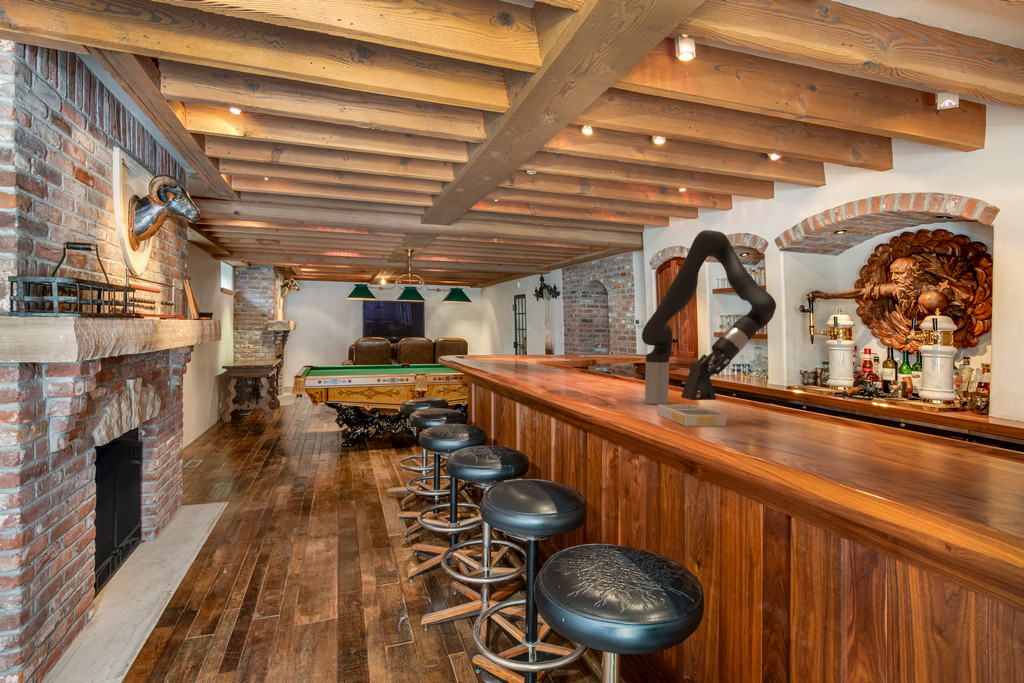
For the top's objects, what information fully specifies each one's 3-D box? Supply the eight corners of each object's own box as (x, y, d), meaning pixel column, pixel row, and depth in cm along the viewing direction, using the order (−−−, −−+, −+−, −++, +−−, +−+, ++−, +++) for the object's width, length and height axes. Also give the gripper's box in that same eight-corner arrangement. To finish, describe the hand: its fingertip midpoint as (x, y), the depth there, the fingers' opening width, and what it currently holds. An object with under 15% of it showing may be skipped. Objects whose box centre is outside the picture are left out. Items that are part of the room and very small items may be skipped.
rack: (656, 414, 174) (656, 404, 174) (692, 414, 176) (692, 404, 176) (685, 426, 153) (685, 415, 153) (726, 426, 155) (726, 415, 155)
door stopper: (705, 397, 163) (706, 361, 163) (716, 399, 157) (716, 362, 157) (680, 397, 161) (681, 361, 161) (690, 400, 156) (691, 362, 155)
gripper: (710, 335, 167) (677, 370, 166) (735, 336, 153) (699, 374, 151) (724, 351, 168) (692, 385, 167) (750, 353, 154) (715, 390, 152)
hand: (695, 380), depth 159 cm, fingers closed on door stopper, 6 cm apart
